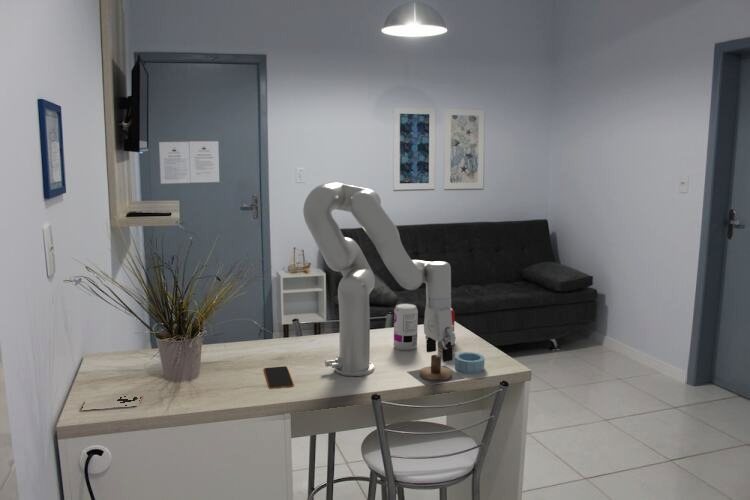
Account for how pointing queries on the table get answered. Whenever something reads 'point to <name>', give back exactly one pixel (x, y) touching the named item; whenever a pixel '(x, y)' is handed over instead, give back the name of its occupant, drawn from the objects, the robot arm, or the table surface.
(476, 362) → the bowl
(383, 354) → the table surface
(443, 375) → the lid
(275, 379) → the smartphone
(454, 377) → the mat
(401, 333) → the supplement can
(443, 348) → the pill bottle
